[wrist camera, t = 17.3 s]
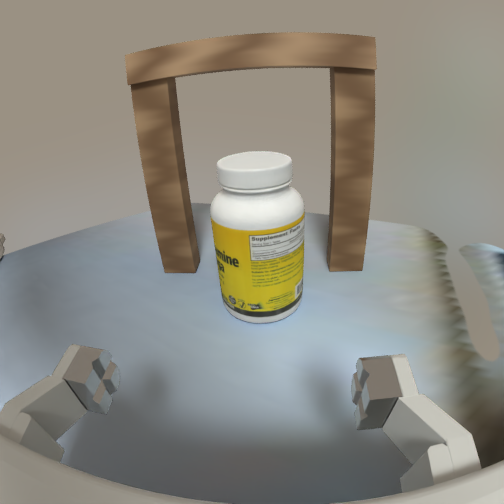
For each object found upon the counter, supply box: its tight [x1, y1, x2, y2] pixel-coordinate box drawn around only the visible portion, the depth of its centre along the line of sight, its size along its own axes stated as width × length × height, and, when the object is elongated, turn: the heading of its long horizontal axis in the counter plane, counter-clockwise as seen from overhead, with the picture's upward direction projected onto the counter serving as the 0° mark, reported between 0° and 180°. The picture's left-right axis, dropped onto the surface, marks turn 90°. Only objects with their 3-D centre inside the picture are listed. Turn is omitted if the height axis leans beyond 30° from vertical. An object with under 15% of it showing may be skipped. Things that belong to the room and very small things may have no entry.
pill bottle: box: [210, 151, 305, 323], centre depth 22 cm, size 6×6×11 cm
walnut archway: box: [125, 32, 377, 273], centre depth 24 cm, size 18×3×20 cm, turn 86°
